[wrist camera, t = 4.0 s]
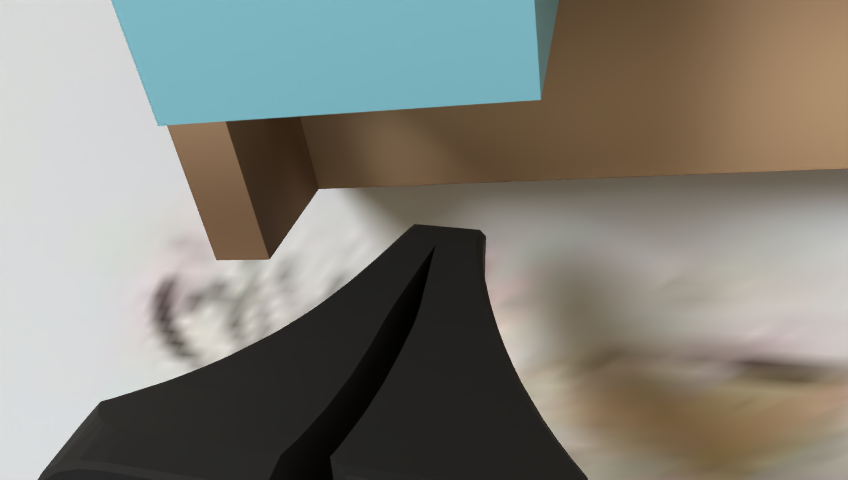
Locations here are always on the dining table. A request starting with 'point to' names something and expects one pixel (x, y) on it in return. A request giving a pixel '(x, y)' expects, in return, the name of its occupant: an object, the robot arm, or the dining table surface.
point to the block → (333, 55)
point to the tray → (558, 116)
